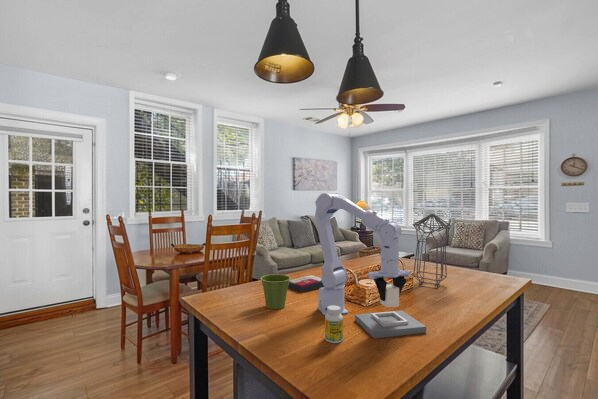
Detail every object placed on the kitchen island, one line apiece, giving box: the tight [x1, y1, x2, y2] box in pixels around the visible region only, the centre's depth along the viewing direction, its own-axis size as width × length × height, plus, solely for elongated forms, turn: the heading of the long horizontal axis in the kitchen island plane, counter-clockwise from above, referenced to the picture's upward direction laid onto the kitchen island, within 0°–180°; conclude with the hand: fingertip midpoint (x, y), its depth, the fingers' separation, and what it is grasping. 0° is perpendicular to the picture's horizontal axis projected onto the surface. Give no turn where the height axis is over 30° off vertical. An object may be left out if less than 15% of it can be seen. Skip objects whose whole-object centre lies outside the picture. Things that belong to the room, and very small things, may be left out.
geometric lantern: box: [412, 213, 452, 290], centre depth 148 cm, size 16×16×35 cm
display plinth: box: [354, 310, 427, 339], centre depth 101 cm, size 18×14×3 cm
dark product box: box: [288, 274, 324, 294], centre depth 145 cm, size 11×4×15 cm
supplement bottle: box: [324, 305, 344, 344], centre depth 92 cm, size 5×5×10 cm
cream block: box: [379, 283, 400, 308], centre depth 102 cm, size 4×4×6 cm
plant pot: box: [259, 273, 292, 311], centre depth 119 cm, size 12×12×11 cm
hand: (389, 299), depth 102 cm, fingers closed on cream block, 4 cm apart
